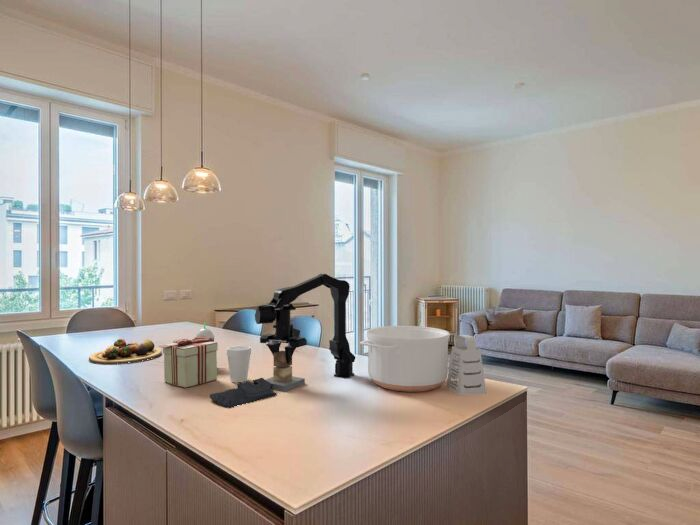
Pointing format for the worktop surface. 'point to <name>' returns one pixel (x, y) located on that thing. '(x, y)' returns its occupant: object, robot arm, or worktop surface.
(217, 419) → the worktop surface
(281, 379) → the oak block
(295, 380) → the base
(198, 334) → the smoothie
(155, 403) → the worktop surface
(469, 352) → the grater
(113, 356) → the wooden plate with food
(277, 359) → the walnut block
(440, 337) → the pot
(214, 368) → the gift box
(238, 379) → the foam cup
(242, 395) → the dark slate chunk
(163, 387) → the worktop surface
